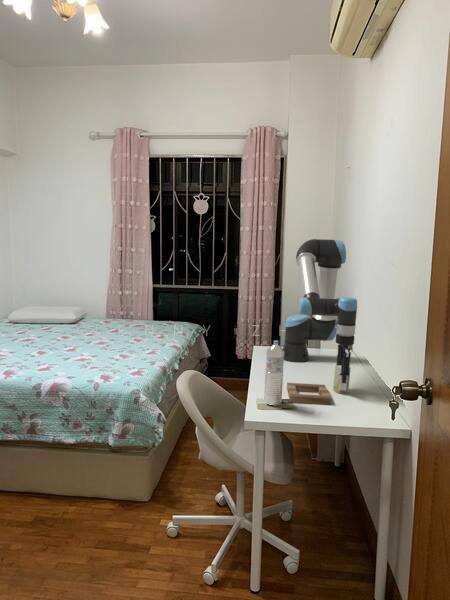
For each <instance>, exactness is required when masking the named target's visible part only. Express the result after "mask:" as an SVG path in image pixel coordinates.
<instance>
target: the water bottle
mask: <svg viewBox="0 0 450 600" xmlns="http://www.w3.org/2000/svg"><path fill="white" fill-rule="evenodd" d="M265 353H266V361H265V362H266V363H265V364H266V365H265V375H264V377H265V378H264V392H263V393H264V396H263V402H264V404H265V403H266V404H265V405H267V404H269V405H274V406H273V407H278V406H281V404H282V398H283V385H284V384H283V383H284V382H283V381H284V364H285V363H284V362H285V360H284V350H283V347H281V345H279V340H273V344H272V345H270V346H269V347H268V348H267V349H266V352H265ZM269 405H268V406H269ZM277 405H278V406H277Z"/></svg>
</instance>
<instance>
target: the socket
mask: <svg viewBox="0 0 450 600" xmlns="http://www.w3.org/2000/svg"><path fill="white" fill-rule="evenodd" d="M286 391H287V395H288V399H289V402H290V403H295V404H298V403H299V404H314V405H315V404H316V405H327V406H328V405H330V406H331V405H332V400H333V399H332V396H331V394H330V392H329V390H328V389H327V386H326V384H320V383H319V384H317V383H303V382H302V383H300V382H287V383H286ZM298 392H303V393H298ZM304 392H307V393H317V394H304Z"/></svg>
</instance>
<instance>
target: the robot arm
mask: <svg viewBox="0 0 450 600" xmlns="http://www.w3.org/2000/svg"><path fill="white" fill-rule="evenodd" d="M295 255H296V256H295V259H296V260H295V262H296V265H297V266H298V269H299V276H300V277H299V278H300V285H301V287H300V288H301V293H302V294H301V295H302V297H300V298H299V302H298V312H299V314H294V315H289V316H288V317H287V318H286V320H285V325H284V326H285V333H284V343H283V346H282V349H283V350H284V361H287V362H293V363H297V362H298V363H304V362H308V361H309V360H310V359H309V358H310V354H309V350H308V346H307V341H319V342H320V341H322V342H326V341H327V342H329V341H333V340H334V339H335V343H336V344H338V345H337V356H336V357H337V358H336V365H335V366H338V365H341V374H340V387H339V390H346V387H347V376H349V367H351V366H350V363H351V355H352V354H351V349H350V346H353V345H354V344H355V335H356V326H357V325H356V321H357V313H358V312H357V310H358V299H356V298H355V297H350V296H349V297H347V296H344V297H343V296H341V297H336V298H335V295H336V286H337V285H336V284H337V277H338V271H339V270H340V269H341V268H342V265H344V264H345V263H346V260H347V249H346V244H345V243H344V241H342V240H339V239H320V238H319V239H318V238H317V239H316V238H312V239H309V240H306V241H304V242H303V243H302V244H301V245H300V246H299V247H298V250H297V252H296V254H295ZM316 263H317V267H318V268H319V269H320V271H319V277H317V270H316ZM318 278H319V279H318ZM309 316H312V318H311V317H309ZM336 317H337V319H336Z"/></svg>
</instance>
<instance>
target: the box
mask: <svg viewBox="0 0 450 600" xmlns="http://www.w3.org/2000/svg"><path fill="white" fill-rule="evenodd" d="M340 374H341V365H338V366H336V365H335V367H334V375H333V376H334V377H333V387H332V390H333V391H334V392H336V393H338V394H346V393H349V390H350V389H349V388H350V387H349V386H350V380H351V379H350V377H351V366H349V376H347V387H346V390H339V387H340Z"/></svg>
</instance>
